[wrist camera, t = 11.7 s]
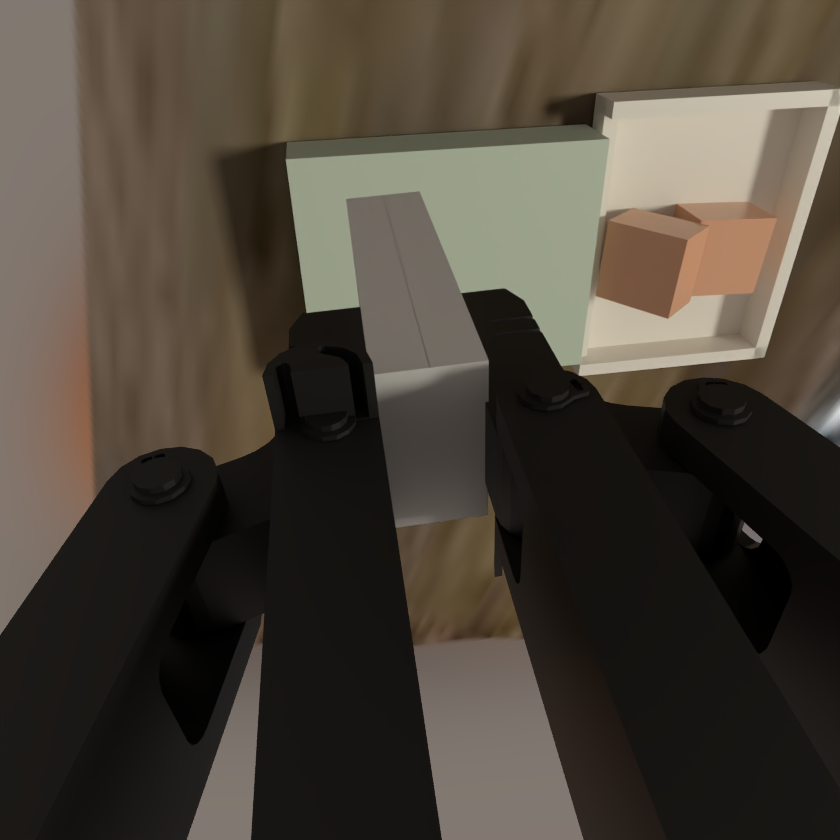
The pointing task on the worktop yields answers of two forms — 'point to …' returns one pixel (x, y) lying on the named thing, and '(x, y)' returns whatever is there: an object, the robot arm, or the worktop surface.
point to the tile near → (651, 261)
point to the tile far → (729, 245)
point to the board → (465, 213)
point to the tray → (707, 183)
